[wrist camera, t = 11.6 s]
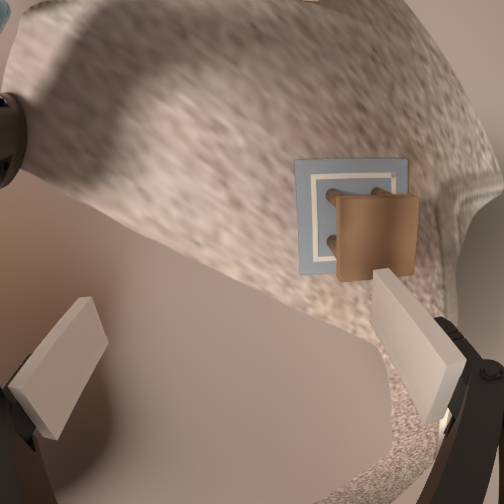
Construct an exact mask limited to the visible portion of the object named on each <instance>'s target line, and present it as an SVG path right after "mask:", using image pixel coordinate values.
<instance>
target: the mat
mask: <svg viewBox="0 0 504 504" xmlns="http://www.w3.org/2000/svg"><path fill="white" fill-rule="evenodd" d="M294 162H295V178H296V196H297V217H298V241H299V273H300V276H301V275H314V274H327V273H336V258H335V256H334V255H333V253H332V251H331V250H330V248H329V247H328V245H327V238H328V237H329V236H331V235H336V236H337V225H336V207H335V206H333V205H332V204H331V203H330V202H329V201H328V200H327V199H326V192H327V191H328V190H329V189H336V190H337V191H339V192H340V193H342V194H343V195H345V196H351V195H371V191H372V189H373V188H375V187H379V188H381V189H383V190H386V191H388V192H390V193H392V194H407V192H408V159H391V158H348V159H312V160H294Z"/></svg>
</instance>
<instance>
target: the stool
mask: <svg viewBox="0 0 504 504" xmlns="http://www.w3.org/2000/svg"><path fill="white" fill-rule="evenodd" d="M326 199H327V200H328V201H329V202H330V203H331V204H332V205H333V206H335V207H336V225H337V236H336V235H331V236H329V237H328V238H327V245H328V247H329V248H330V250H331V251H332V253H333V255H334V256H335V258H336V276H337V277H338V279H339V281H340V282H349V281H360V280H370V279H373V270H377V269H385V268H389V269H390V270H391V271H392V272H393V273H394V274H395V275H396V277H400V276H409V275H413V273H414V264H415V255H416V244H417V231H418V215H419V197H417V196H415V195H413V194H392V193H390V192H388V191H386V190H383V189H381V188H379V187H375V188H373V189H372V191H371V195H351V196H345V195H343V194H342V193H340V192H339V191H337V190H336V189H329V190H328V191H327V192H326Z"/></svg>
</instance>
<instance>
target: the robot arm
mask: <svg viewBox="0 0 504 504" xmlns="http://www.w3.org/2000/svg"><path fill="white" fill-rule="evenodd" d="M10 13H11V9H10V6H9V4H8V3H7V2H6V1H5V0H0V35H1V33H2V31H3V29H4V27H5V25H6V23H7V22H8V20H9V17H10ZM26 137H27V130H26V121H25V116H24V113H23V110H22V107H21V105H20V104H19V102H18V101H17V100H16V99H15V98H14V97H13V96H11V95H9V94H6V93H0V189H1V188H3V187H5V186H7V185H8V184H9V183H10V182H11V181H12V180H13V179H14V177H15V176H16V174H17V172H18V170H19V168H20V166H21V163H22V160H23V157H24V153H25V148H26ZM369 322H370V323H371V325H372V327H373V329H374V330H375V332H376V334H377V336H378V338H379V339H380V341H381V343H382V345H383V347H384V348H385V350H386V352H387V354H388V356H389V357H390V359H391V361H392V363H393V365H394V367H395V369H396V370H397V372H398V374H399V376H400V378H401V380H402V382H403V384H404V386H405V388H406V389H407V391H408V393H409V395H410V397H411V399H412V401H413V403H414V405H415V407H416V409H417V411H418V413H419V415H420V417H421V419H422V421H423V423H424V425H425V424H428V423H431V422H434V421H437V420H440V419H443V417H444V415H445V413H446V410H447V408H449V410H450V412H451V413H452V417H451V419H450V421H449V423H448V425H447V427H446V429H445V431H444V433H443V434H445V436H444V439H443V442H442V445H441V447H440V450H439V453H438V455H437V458H436V460H435V463H434V466H433V468H432V470H431V473H430V475H429V477H428V479H427V482H426V484H425V487H424V488H423V491H422V493H421V495H420V497H419V499H418V501H417V503H416V504H483V501H484V498H485V495H486V491H487V488H488V484H489V481H490V477H491V473H492V469H493V465H494V461H495V457H496V452H497V447H498V446H499V502H498V504H504V367H503V366H502V365H501V364H500V363H498V362H496V361H494V360H489V359H484V360H483V359H482V358H481V356H480V355H479V354H478V353H477V352H476V350H475V349H474V348H473V347H472V346H471V345H470V343H469V342H468V341H467V340H466V339H465V338H464V336H463V335H462V334H461V333H460V332H458V329H457V328H456V327H455V326H454V325H453V324H452V322H450V321H448V320H446V319H445V318H443V317H436V318H433V317H432V316H431V315H430V314H429V313H428V312H427V310H426V309H425V308H424V307H423V306H422V305H421V303H420V302H419V301H418V300H417V299H416V298H415V297H414V295H413V294H412V293H411V292H410V291H409V290H408V289H407V288H406V286H405V285H404V284H403V283H402V282H401V281H400V280H399V279H398V278H397V277H396V275H395V274H394V273H393V272H392V271H391V270H390V269H389V268H385V269H377V270H373V284H372V298H371V310H370V321H369ZM108 343H109V342H108V340H107V338H106V335H105V332H104V329H103V327H102V324H101V321H100V319H99V316H98V313H97V311H96V308H95V305H94V302H93V299H92V297H79V298H78V299H77V301H76V302H75V303H74V304H73V305H72V306H71V308H70V309H69V310H68V311H67V312H66V313H65V315H64V316H63V317H62V318H61V319H60V320H59V322H58V323H57V324H56V325H55V326H54V328H53V329H52V330H51V331H50V332H49V334H48V335H47V336H46V337H45V338H44V340H43V341H42V342H41V343H40V345H39V346H38V347H37V349H36V350H35V351H33V352H32V353H31V354H30V355H28V356H27V358H26V359H25V360H24V362H23V363H22V365H20V367H19V368H18V371H16V372H15V373H14V375H13V376H12V377H11V379H10V380H9V381H8V383H7V384H6V386H5V387H4V388H3V390H2V388H1V387H0V504H58V503H57V500H56V498H55V495H54V492H53V489H52V487H51V484H50V481H49V478H48V475H47V472H46V469H45V465H44V462H43V459H42V455H41V452H40V448H39V444H38V440H37V438H36V436H35V435H34V434H33V432H34V430H35V428H37V429H38V430H39V432H40V433H41V434H42V436H43V437H46V438H50V439H54V440H58V438H59V436H60V434H61V432H62V430H63V428H64V426H65V424H66V422H67V420H68V418H69V416H70V414H71V412H72V410H73V408H74V406H75V404H76V402H77V400H78V398H79V396H80V394H81V392H82V391H83V388H84V387H85V385H86V383H87V381H88V379H89V378H90V376H91V374H92V372H93V370H94V368H95V367H96V365H97V363H98V361H99V359H100V358H101V356H102V354H103V352H104V351H105V349H106V347H107V345H108Z"/></svg>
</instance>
